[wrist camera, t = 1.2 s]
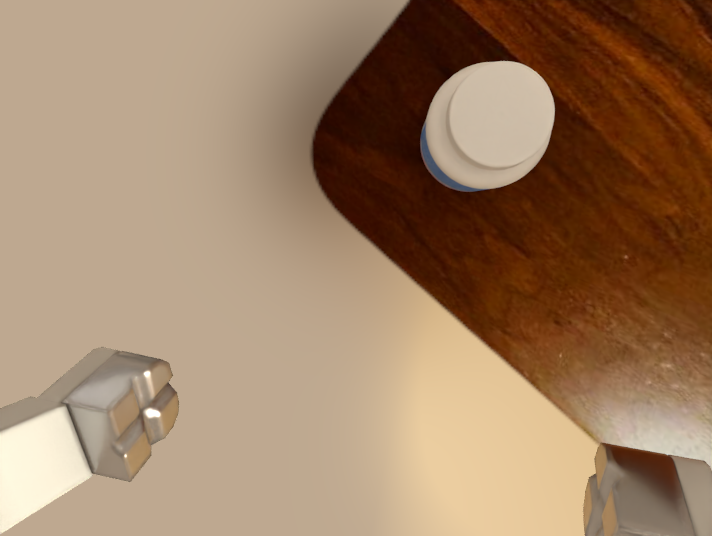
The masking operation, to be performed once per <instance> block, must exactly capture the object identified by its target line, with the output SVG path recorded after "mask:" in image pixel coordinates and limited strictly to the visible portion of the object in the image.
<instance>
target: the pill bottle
mask: <svg viewBox="0 0 712 536" xmlns="http://www.w3.org/2000/svg"><path fill="white" fill-rule="evenodd" d="M554 114H555V108H554V101H553V97H552V94H551V92H550V89H549V87H548V85H547V84H546V82H545V81H544V80H543V78H542V77H541V76H540V75H539V74H538V73H536V72H535V71H534V70H532V69H531V68H529V67H527V66H525V65H523V64H520V63H516V62H511V61H498V62H483V63H478V64H474V65H471V66H468V67H466V68H464V69H462V70H460V71H459V72H457V73H456V74H454V75H453V76H452V77H451V78H449V79H448V80H447V81H446V82H445V83H444V84H443V85H442V86H441V88H440V89H439V90H438V92H437V93H436V95H435V96H434V98H433V100H432V103H431V105H430V108H429V111H428V114H427V118H426V121H425V123H424V126H423V129H422V133H421V138H420V149H421V155H422V158H423V161H424V164H425V166H426V168H427V169H428V171H429V172H430V173H431V175H432V176H433V177H434V178H435V179H436V180H437V181H438V182H440V183H441V184H443V185H444V186H446V187H448V188H451V189H454V190H457V191H463V192H473V191H480V190H486V189H493V188H499V187H502V186H506V185H508V184H511V183H513V182H515V181H517V180H519V179H520V178H522V177H523V176H525V175H526V174H527V173H528V172H529V171H530V170H531V169H533V168H534V167H535V166H536V164H537V163H538V162H539V160H540V159H541V157H542V156H543V154H544V152H545V150H546V148H547V146H548V143H549V140H550V136H551V130H552V127H553V122H554Z"/></svg>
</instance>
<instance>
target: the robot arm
mask: <svg viewBox="0 0 712 536" xmlns="http://www.w3.org/2000/svg"><path fill="white" fill-rule="evenodd" d="M172 376H173V374H172V371H171V368H170V364H169V363H168V362H166V361H164V360H161V359H157V358H152V357H147V356H143V355H138V354H134V353H129V352H124V351H118V350H113V349H108V348H104V347H101V348H97V349H94V350H92V351H91V352H90V353H89V354H87V355H86V356H85V357H84V358H83V359H82V360H81V361H79V362H78V363H77V364H76V365H75V366H74V367H72V368H71V369H70V370H69V371H68V372H67V373H66V374H64V375H63V376H62V377H61V378H60V379H58V380H57V381H56V382H55V383H54V384H53V385H51V386H50V387H49V388H48V389H47V390H46V391H44V392H43V393H42V394H41V395H40V396H39V397H37V398H35V397H28V398H26V399H23V400H21V401H18V402H16V403H13V404H11V405H8V406H5V407H3V408H0V534H1V533H3V532H4V531H6V530H7V529H9V528H10V527H12V526H13V525H15V524H17V523H18V522H20V521H22V520H23V519H25V518H27V517H28V516H30V515H31V514H33V513H34V512H36V511H38V510H39V509H41V508H42V507H44V506H45V505H47V504H49V503H50V502H52V501H53V500H55V499H57V498H58V497H60V496H61V495H63V494H65V493H66V492H68V491H69V490H71V489H73V488H74V487H76V486H77V485H79V484H80V483H82V482H84V481H85V480H87V479H88V478H90V477H91V476H92V473H93V474H97V475H102V476H106V477H110V478H115V479H120V480H124V481H128V482H131V481H132V479H133V478H134V477H135V475H136V474H137V473H138V472H139V470H140V469H141V468H142V467H143V465H144V464H145V463H146V462H147V460H148V459H149V458H150V456H151V445H152V444H154V443H156V442H158V441H160V440H162V439H164V438H165V437H166V436H167V434H168V433H169V432H170V430H171V429H172V428H173V426H174V423H175V420H176V418H177V415H178V410H179V400H178V396H177V392H176V391H175V390H174V389H173V388H172V387H171V385H170V384H169V383H168V382H169V381H170V379H171V378H172ZM595 467H596V474H594V475H593V476H591V477H589V479H588V483H587V487H586V491H585V500H584V531H585V536H712V471H711V468H710V466H709V465H708V464H707V463H706V462H705V461H701V460H696V459H690V458H684V457H679V456H673V455H666V454H661V453H656V452H650V451H645V450H639V449H633V448H628V447H622V446H617V445H611V444H606V443H601V444H600V446H599V447H598V449H597V452H596V456H595Z"/></svg>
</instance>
